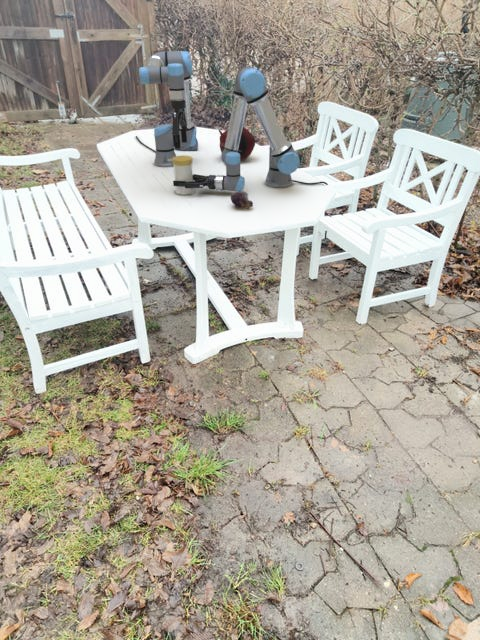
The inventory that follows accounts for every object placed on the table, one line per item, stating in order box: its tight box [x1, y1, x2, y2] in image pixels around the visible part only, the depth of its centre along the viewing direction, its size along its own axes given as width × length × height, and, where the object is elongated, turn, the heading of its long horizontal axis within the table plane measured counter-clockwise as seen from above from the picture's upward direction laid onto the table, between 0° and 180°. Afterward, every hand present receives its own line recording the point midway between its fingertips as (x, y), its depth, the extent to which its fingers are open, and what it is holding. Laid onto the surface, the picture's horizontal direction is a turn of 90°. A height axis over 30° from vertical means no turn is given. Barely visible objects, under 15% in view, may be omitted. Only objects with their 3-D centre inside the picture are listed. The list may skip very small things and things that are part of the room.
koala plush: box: [175, 137, 199, 151], centre depth 321 cm, size 17×18×20 cm
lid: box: [172, 155, 194, 165], centre depth 239 cm, size 11×11×2 cm
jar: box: [173, 163, 195, 196], centre depth 243 cm, size 10×10×18 cm
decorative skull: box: [218, 126, 257, 162], centre depth 296 cm, size 21×24×25 cm
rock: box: [230, 190, 254, 209], centre depth 225 cm, size 12×9×10 cm
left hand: (181, 145), depth 234 cm, fingers open, 12 cm apart
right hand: (176, 180), depth 246 cm, fingers closed on jar, 10 cm apart
